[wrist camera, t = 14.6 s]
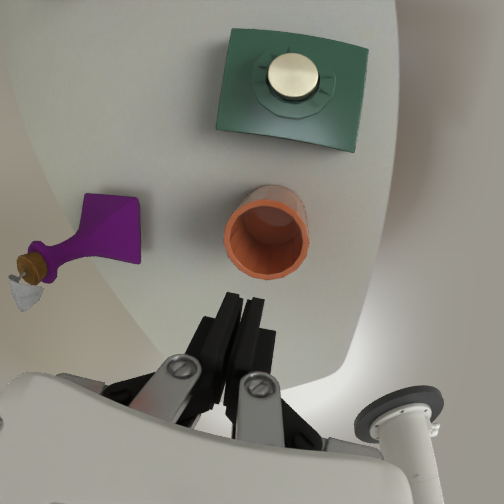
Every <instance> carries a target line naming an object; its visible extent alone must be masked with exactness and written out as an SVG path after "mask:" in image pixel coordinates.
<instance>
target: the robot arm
mask: <svg viewBox="0 0 504 504" xmlns="http://www.w3.org/2000/svg"><path fill="white" fill-rule="evenodd" d="M264 301H265V299H260V298H255V297H253V298H252V300H248V299H247V302H246V305H245V309H244V312H243V315H242V318H241V312H242V305H243V298H239V294H235V293H230V292H227V293H226V295H225V298H224V300H223V302H222V304H221V307H220V309H219V311H218V313H217V316H216V318H211V317H206V316H204V317H203V318H202V320H201V322H200V324H199V326H198V328H197V330H196V332H195V334H194V336H193V338H192V340H191V342H190V344H189V346H188V348H187V350H186V352H185V354H176V355H172V356H170V357H168V358H167V359H166V360H165V361H164V362H163V364H162V365H161V366H160V367H159V369H158V370H157V371H156V372H153V373H150V374H147V375H143V376H139V377H136V378H132V379H128V380H125V381H121V382H117V383H114V384H111V385H110V386H108V385H105V382H100V381H95V380H91V379H87V378H83V377H79V376H75V375H71V374H67V373H61V374H57V375H56V376H54V375H51V374H46V373H39V372H26V373H23V374H21V375H19V376H17V377H16V378H15V379H13V380H12V381H11V382H10V383H9V384H8V385H7V386H6V387H5V388H4V389H3V390H2V391H1V392H0V504H444V500H443V495H442V490H441V485H440V479H439V474H438V469H437V465H436V460H435V455H434V451H433V447H432V442H431V439H430V437H435V436H437V434H438V429H439V427H440V424H439V423H434V424H431V422H430V417H431V414H432V412H431V408H430V406H429V405H427V404H425V403H409V404H405V405H402V406H399V407H396V408H394V409H391V410H389V411H387V412H385V413H384V414H382V415H381V416H379V417H378V418H377V419H375V421H374V422H373V423H372V424H371V426H370V429H369V430H370V435H371V437H372V438H374V439H376V440H379V444H380V451H379V450H378V449H376V448H373V447H370V446H365V445H360V444H356V443H351V442H347V441H343V440H338V439H335V438H331V437H329V438H328V439H326V438H322V437H321V436H320V435H319V434H318V433H317V432H316V431H315V430H314V429H313V428H312V427H311V426H310V425H309V424H308V423H307V422H306V421H304V420H303V419H302V418H301V417H300V416H299V415H298V414H297V413H296V412H295V411H294V410H293V409H292V408H291V407H290V406H289V405H288V404H287V403H286V402H285V401H284V400H283V399H282V398H281V395H280V386H279V382H278V381H277V380H276V378H275V377H273V376H272V375H270V372H271V365H272V358H273V351H274V344H275V336H276V331H273V330H268V329H263V328H259V326H260V321H261V316H262V311H263V306H264ZM240 319H241V322H240ZM225 383H226V386H225ZM224 386H225V394H224V402H223V405H224V406H226V413H225V414H226V416H227V417H228V418H229V420H230V421H231V422H232V432H231V438H226V437H222V436H217V435H213V434H209V433H205V432H202V431H198V430H194V428H195V426H196V424H197V422H198V421H199V419H200V416H201V413H204V412H206V411H209V409H211V410H212V409H213V406H214V403H215V404H219V402H220V399H221V396H222V393H223V389H224Z"/></svg>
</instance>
